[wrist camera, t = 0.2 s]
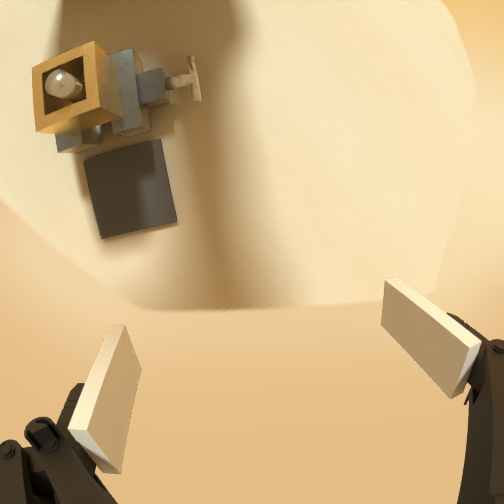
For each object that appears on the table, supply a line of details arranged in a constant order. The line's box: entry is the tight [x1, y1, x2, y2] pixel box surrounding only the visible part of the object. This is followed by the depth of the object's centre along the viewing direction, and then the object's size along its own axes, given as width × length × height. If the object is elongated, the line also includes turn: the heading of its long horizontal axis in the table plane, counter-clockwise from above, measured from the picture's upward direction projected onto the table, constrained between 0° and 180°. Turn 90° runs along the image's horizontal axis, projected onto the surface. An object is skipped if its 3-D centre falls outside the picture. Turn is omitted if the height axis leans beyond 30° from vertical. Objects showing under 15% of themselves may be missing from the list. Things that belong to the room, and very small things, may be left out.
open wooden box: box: [32, 41, 123, 136], centre depth 24 cm, size 7×7×8 cm
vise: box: [45, 48, 202, 153], centre depth 26 cm, size 10×18×16 cm, turn 100°
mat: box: [84, 139, 177, 239], centre depth 37 cm, size 11×11×1 cm
